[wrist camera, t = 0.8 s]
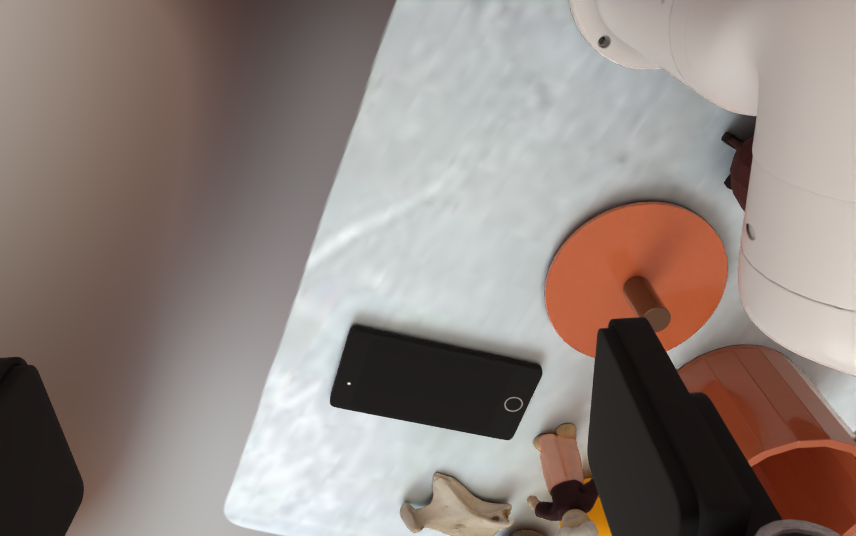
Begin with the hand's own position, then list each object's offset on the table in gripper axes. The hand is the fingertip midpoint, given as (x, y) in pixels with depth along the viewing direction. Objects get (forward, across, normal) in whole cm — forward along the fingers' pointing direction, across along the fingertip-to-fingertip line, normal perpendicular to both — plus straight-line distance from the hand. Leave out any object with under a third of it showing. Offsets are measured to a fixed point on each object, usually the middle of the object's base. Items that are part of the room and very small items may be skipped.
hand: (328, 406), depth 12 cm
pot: (+42, -31, +39) cm, 65 cm away
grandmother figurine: (+42, -14, +42) cm, 61 cm away
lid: (+42, -20, +24) cm, 52 cm away
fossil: (+42, -4, +50) cm, 65 cm away
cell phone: (+42, -2, +33) cm, 54 cm away
